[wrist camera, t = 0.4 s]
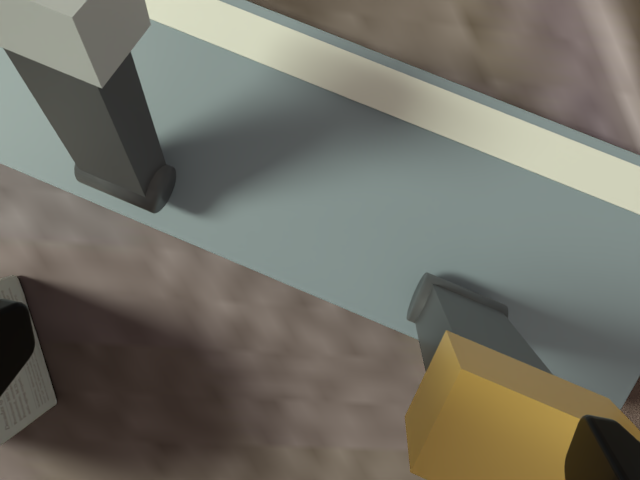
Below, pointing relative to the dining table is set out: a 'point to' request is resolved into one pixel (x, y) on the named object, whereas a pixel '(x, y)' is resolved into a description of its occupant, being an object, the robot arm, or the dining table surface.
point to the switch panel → (373, 182)
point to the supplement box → (24, 380)
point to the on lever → (92, 90)
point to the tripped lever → (488, 394)
